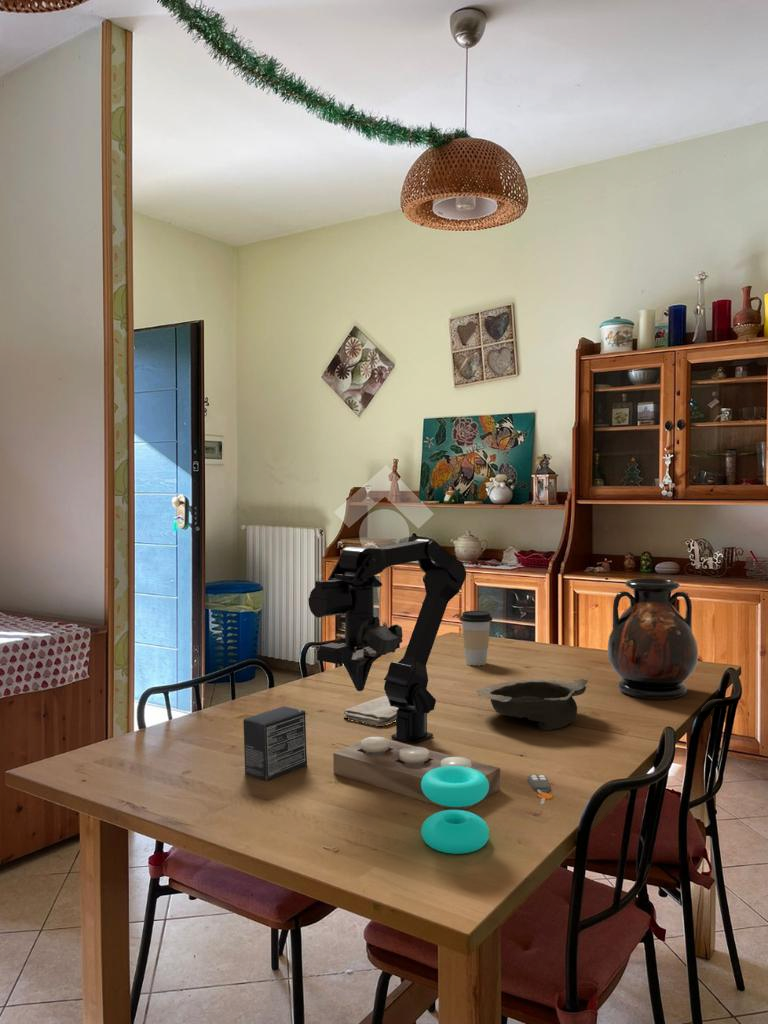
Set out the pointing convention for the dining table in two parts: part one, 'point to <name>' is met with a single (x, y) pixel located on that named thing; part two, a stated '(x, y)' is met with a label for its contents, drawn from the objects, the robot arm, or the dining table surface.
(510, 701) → the stone bowl
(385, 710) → the washcloth
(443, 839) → the donuts
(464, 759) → the knob
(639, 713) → the dining table surface
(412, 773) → the mount
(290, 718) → the small box
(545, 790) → the key chain
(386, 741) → the knob
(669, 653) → the amphora vase
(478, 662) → the coffee cup
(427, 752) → the knob middle
